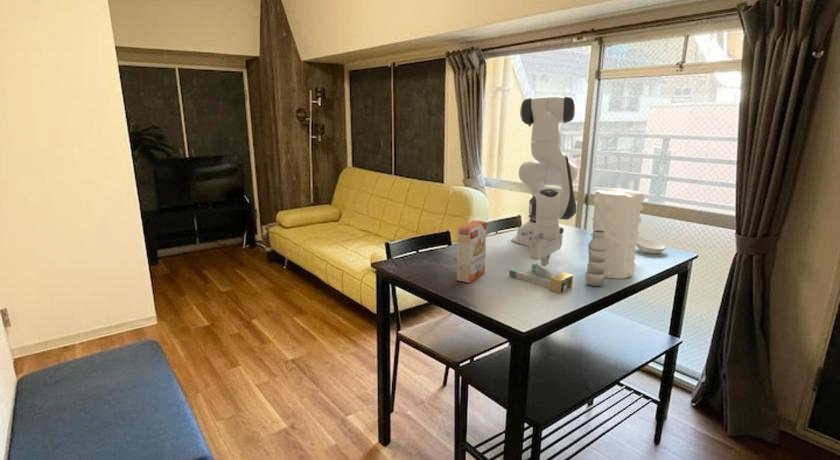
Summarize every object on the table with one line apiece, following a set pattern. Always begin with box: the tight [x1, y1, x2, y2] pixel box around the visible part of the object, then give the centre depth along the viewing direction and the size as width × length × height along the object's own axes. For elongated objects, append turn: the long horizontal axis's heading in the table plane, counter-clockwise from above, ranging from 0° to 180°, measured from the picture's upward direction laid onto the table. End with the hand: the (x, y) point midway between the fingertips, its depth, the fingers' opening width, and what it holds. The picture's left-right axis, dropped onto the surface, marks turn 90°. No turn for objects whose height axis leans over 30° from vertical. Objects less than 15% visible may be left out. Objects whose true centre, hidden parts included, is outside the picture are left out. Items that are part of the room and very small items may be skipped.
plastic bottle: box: [584, 230, 608, 287], centre depth 163 cm, size 6×7×20 cm
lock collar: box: [549, 271, 574, 294], centre depth 162 cm, size 4×8×5 cm, turn 133°
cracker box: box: [456, 220, 488, 284], centre depth 173 cm, size 14×6×21 cm, turn 148°
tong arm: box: [531, 263, 555, 280], centre depth 173 cm, size 16×2×3 cm, turn 13°
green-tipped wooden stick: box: [508, 268, 568, 294], centre depth 168 cm, size 23×4×3 cm, turn 43°
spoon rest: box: [636, 234, 667, 255], centre depth 205 cm, size 24×12×7 cm, turn 45°
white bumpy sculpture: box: [586, 187, 645, 279], centre depth 174 cm, size 17×16×32 cm
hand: (544, 265), depth 182 cm, fingers closed
